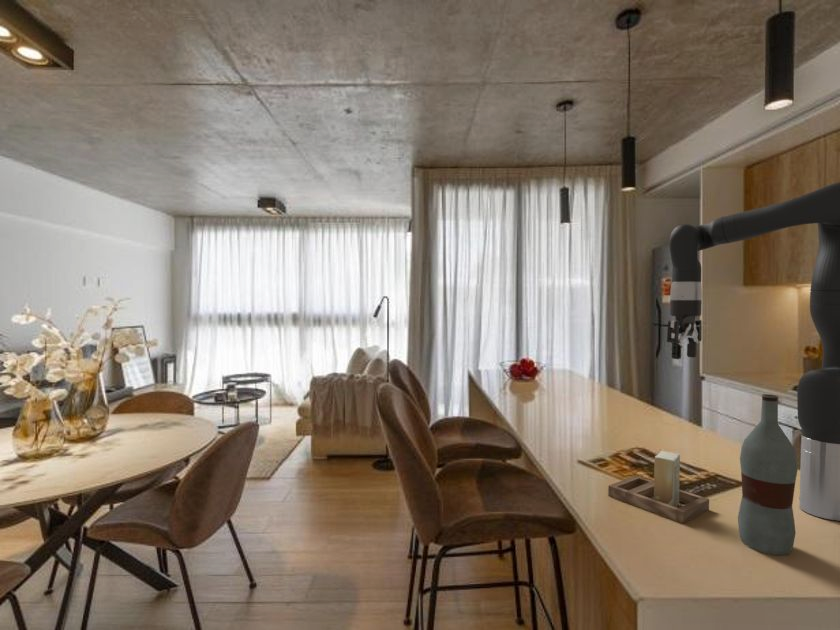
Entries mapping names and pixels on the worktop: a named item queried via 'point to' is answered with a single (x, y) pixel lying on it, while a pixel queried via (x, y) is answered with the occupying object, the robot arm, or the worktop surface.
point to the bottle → (768, 485)
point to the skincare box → (667, 478)
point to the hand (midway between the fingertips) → (684, 357)
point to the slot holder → (640, 493)
